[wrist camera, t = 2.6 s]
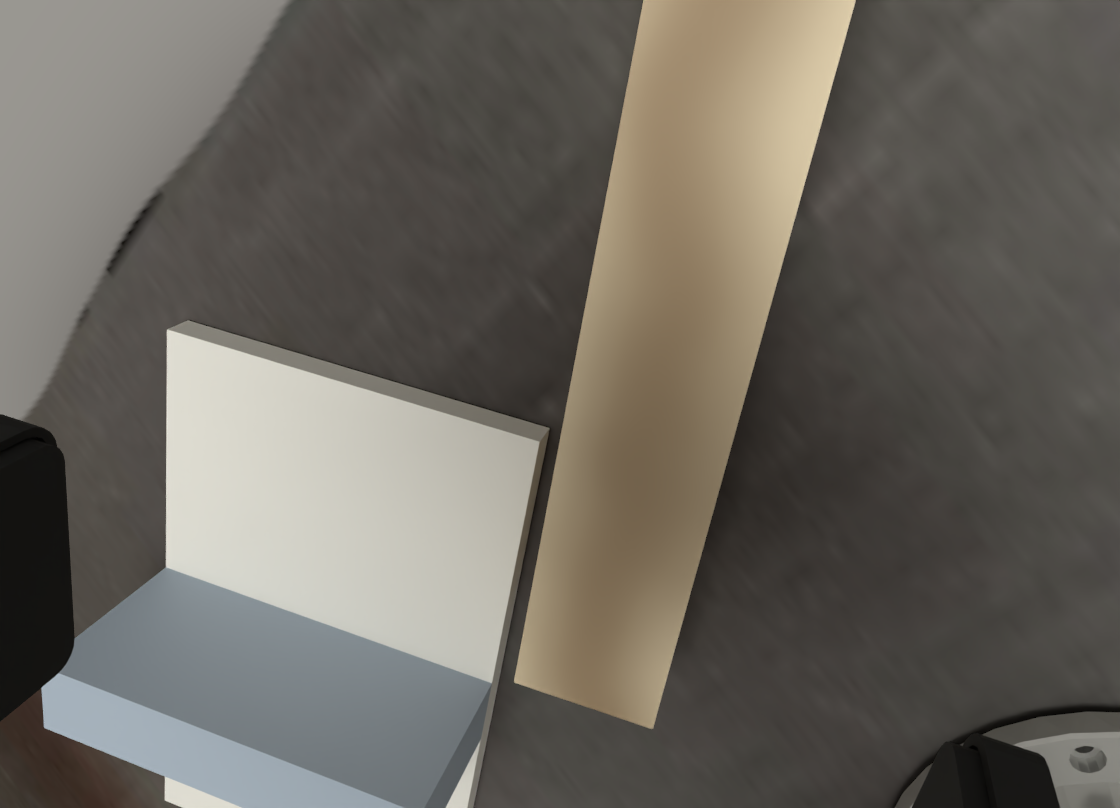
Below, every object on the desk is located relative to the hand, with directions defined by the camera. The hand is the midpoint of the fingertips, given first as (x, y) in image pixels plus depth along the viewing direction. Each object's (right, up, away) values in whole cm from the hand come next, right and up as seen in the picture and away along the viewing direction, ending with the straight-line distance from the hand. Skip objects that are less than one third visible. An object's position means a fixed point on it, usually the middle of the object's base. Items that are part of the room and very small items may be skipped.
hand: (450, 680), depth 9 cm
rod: (+5, +6, +15) cm, 17 cm away
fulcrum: (-7, -5, +22) cm, 24 cm away
